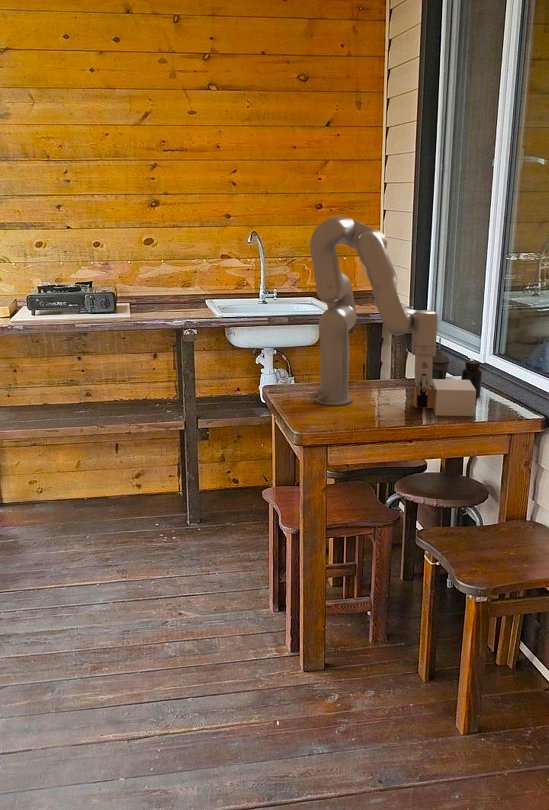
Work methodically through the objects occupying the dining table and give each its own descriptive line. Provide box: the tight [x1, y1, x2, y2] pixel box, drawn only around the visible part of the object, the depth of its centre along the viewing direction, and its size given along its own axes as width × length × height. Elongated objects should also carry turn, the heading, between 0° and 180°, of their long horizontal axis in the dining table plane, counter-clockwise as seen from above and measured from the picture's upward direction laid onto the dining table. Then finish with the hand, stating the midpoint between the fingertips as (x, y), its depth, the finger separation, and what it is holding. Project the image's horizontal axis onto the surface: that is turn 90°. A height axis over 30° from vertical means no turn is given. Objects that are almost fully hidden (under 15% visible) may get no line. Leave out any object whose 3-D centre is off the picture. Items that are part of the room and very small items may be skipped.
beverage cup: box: [428, 337, 450, 387], centre depth 259 cm, size 7×7×20 cm
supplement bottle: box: [460, 360, 483, 399], centre depth 257 cm, size 7×7×12 cm
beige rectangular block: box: [432, 378, 477, 417], centre depth 241 cm, size 14×13×8 cm
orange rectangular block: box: [413, 385, 435, 409], centre depth 242 cm, size 4×12×6 cm, turn 84°
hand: (420, 403), depth 243 cm, fingers open, 6 cm apart
